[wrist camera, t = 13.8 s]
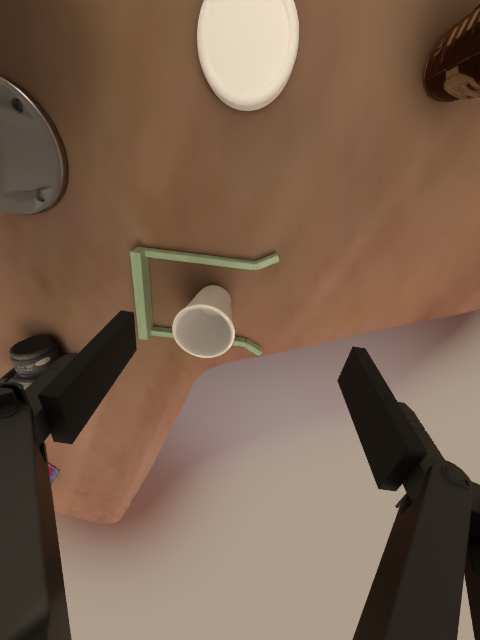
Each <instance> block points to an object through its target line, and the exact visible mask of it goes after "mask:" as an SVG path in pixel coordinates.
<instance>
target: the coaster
mask: <svg viewBox="0 0 480 640" xmlns="http://www.w3.org/2000/svg"><path fill="white" fill-rule="evenodd" d="M298 43H299V22H298V15H297V10H296V6H295V3H294V0H204V1H203V4H202V7H201V11H200V15H199V19H198V27H197V48H198V55H199V60H200V64H201V67H202V70H203V73H204V75H205V77H206V79H207V81H208V83H209V85H210V86H211V88H212V90H213V91H214V93H215V94H216V96H217V97H218V98H219V99H220V100H221V101H222V102H224V103H225V104H226V105H228V106H230V107H231V108H234V109H236V110H241V111H253V110H257V109H261V108H263V107H265V106H267V105H268V104H269V103H271V102H272V101H273V100H274V99H275V98H277V96H278V95H279V94H280V93H281V92H282V90H283V89H284V87H285V85H286V84H287V82H288V80H289V77H290V75H291V72H292V69H293V66H294V63H295V59H296V56H297V50H298Z"/></svg>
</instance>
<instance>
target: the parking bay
mask: <svg viewBox="0 0 480 640" xmlns="http://www.w3.org/2000/svg"><path fill="white" fill-rule="evenodd" d="M149 257H151V258H159V259H167V260H175V261H183V262H191V263H199V264H207V265H215V266H223V267H231V268H239V269H247V270H255V269H257V270H259V269H262V268H264V267H267V266H269V265H272V264H274V263H277V262H279V258H278V255H277V253H274V254H272V255H269V256H267V257H264V258H262V259H259V260H257V261H250V260H242V259H234V258H226V257H218V256H210V255H202V254H194V253H186V252H178V251H170V250H162V249H154V248H147V247H139V246H138V247H137V248H135V249H133V250H132V251H130V258H131V267H132V277H133V286H134V296H135V305H136V315H137V324H138V334H139V339H144V340H148V339H149V337H150V336H151V335H154V336H162V337H170V338H174V336H173V331H172V328H164V327H156V326H153V313H152V299H151V285H150V270H149ZM232 345H234V346H242V347H245V348H246V349H248V350H250V351H251V352H253V353H254V354H256V355H257V356H259V355H260V354H261V353H262V348H261V347H259V346H258V345H256V344H255V343H253V342H252V341H250V340H249V339H247V338H246V340H245V338H244V337H236V336H235V337H234V341H233V343H232Z"/></svg>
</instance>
